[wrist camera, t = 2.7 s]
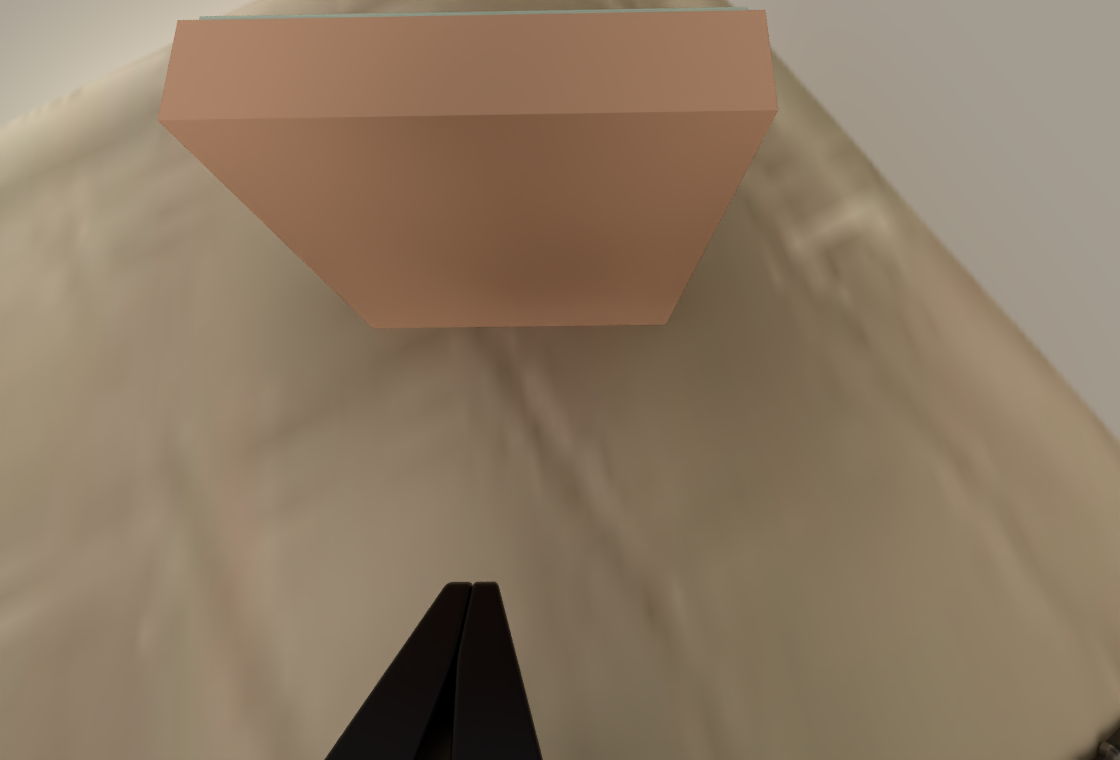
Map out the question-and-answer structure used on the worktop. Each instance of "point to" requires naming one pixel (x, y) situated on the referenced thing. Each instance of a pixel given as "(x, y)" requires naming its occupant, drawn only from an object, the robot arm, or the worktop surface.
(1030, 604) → the worktop surface
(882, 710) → the worktop surface
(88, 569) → the worktop surface
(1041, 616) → the worktop surface
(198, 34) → the tile
